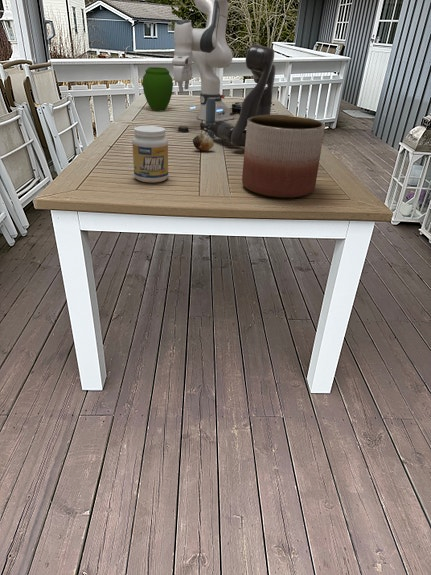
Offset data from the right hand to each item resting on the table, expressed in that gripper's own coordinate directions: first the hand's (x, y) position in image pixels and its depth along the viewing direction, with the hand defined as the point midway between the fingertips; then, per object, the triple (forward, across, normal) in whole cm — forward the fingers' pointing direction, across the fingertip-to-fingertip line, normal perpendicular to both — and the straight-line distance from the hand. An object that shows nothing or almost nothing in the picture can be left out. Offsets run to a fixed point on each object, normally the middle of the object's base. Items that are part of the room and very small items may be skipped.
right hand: (208, 124), depth 205 cm
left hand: (+16, +6, -14) cm, 22 cm away
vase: (+79, -4, +6) cm, 79 cm away
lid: (+16, +7, +4) cm, 18 cm away
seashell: (-26, +16, +6) cm, 31 cm away
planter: (-80, +14, +6) cm, 82 cm away
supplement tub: (-55, +52, +6) cm, 76 cm away
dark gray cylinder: (-2, 0, +6) cm, 6 cm away
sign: (+65, -63, +6) cm, 91 cm away
